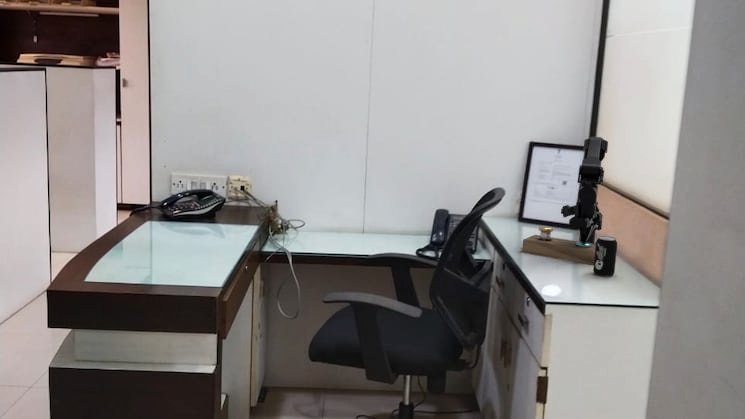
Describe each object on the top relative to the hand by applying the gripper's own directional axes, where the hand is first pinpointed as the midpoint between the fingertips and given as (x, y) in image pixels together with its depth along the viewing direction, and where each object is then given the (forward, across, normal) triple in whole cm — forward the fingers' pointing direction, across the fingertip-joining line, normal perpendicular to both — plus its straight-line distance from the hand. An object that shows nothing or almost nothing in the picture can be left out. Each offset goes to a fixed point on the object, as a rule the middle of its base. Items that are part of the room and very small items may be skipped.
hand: (583, 243), depth 258 cm
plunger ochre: (+2, 0, -14) cm, 14 cm away
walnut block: (+6, 0, -7) cm, 9 cm away
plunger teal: (+6, 0, 0) cm, 6 cm away
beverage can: (+6, +16, +12) cm, 21 cm away
